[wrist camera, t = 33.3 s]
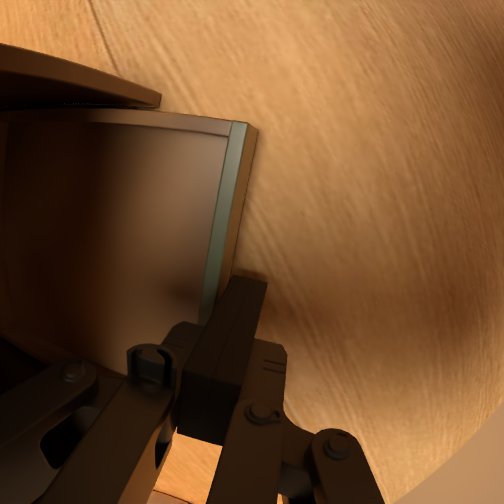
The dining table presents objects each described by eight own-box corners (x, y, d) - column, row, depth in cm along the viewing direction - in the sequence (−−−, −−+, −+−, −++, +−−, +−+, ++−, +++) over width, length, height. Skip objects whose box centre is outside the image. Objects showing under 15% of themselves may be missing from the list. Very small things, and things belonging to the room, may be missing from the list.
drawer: (258, 129, 12) (248, 122, 10) (207, 399, 17) (195, 431, 14) (14, 113, 13) (-17, 112, 11) (18, 321, 18) (-4, 337, 16)
